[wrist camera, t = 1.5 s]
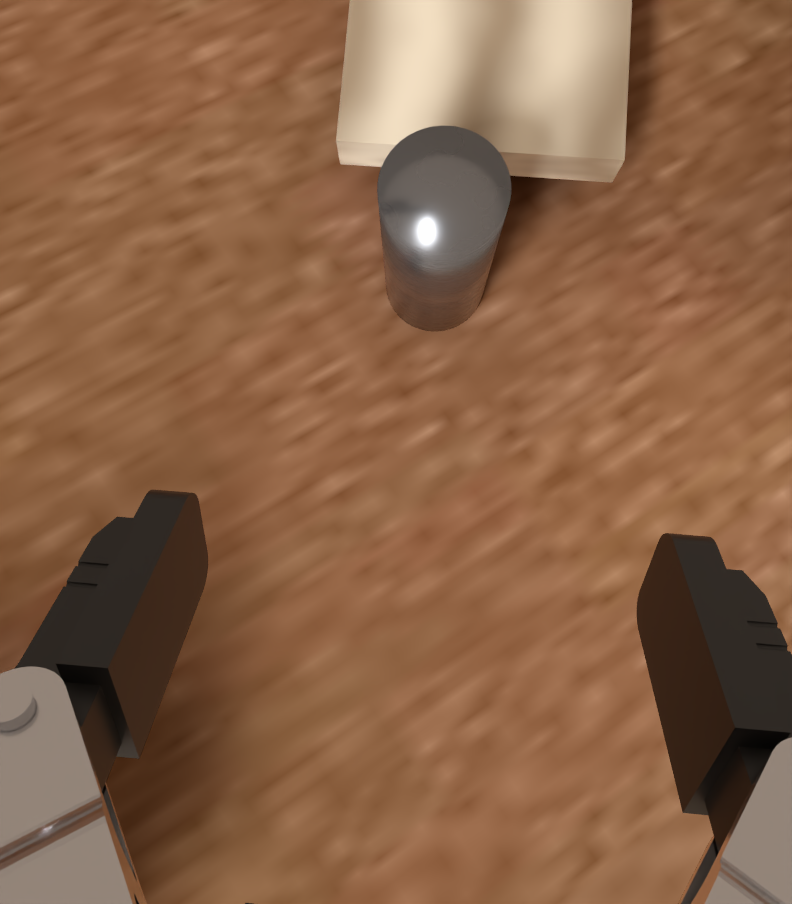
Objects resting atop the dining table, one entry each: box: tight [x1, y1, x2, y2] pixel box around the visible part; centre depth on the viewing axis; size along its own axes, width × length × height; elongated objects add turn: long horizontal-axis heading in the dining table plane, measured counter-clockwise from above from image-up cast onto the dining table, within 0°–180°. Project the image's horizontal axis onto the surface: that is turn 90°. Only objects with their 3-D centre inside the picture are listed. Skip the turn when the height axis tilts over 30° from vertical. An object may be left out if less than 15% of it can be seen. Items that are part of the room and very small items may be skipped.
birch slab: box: [336, 0, 632, 182], centre depth 35 cm, size 13×18×5 cm
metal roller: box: [377, 126, 511, 331], centre depth 31 cm, size 5×5×10 cm
